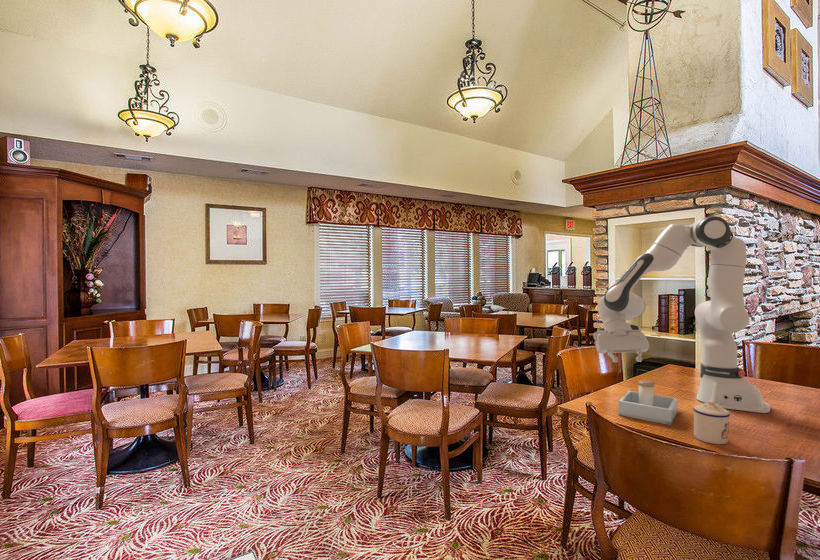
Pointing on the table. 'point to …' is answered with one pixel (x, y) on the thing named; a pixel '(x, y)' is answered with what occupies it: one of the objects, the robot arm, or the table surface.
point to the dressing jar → (646, 392)
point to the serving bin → (648, 408)
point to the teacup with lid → (711, 423)
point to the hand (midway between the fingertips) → (627, 361)
